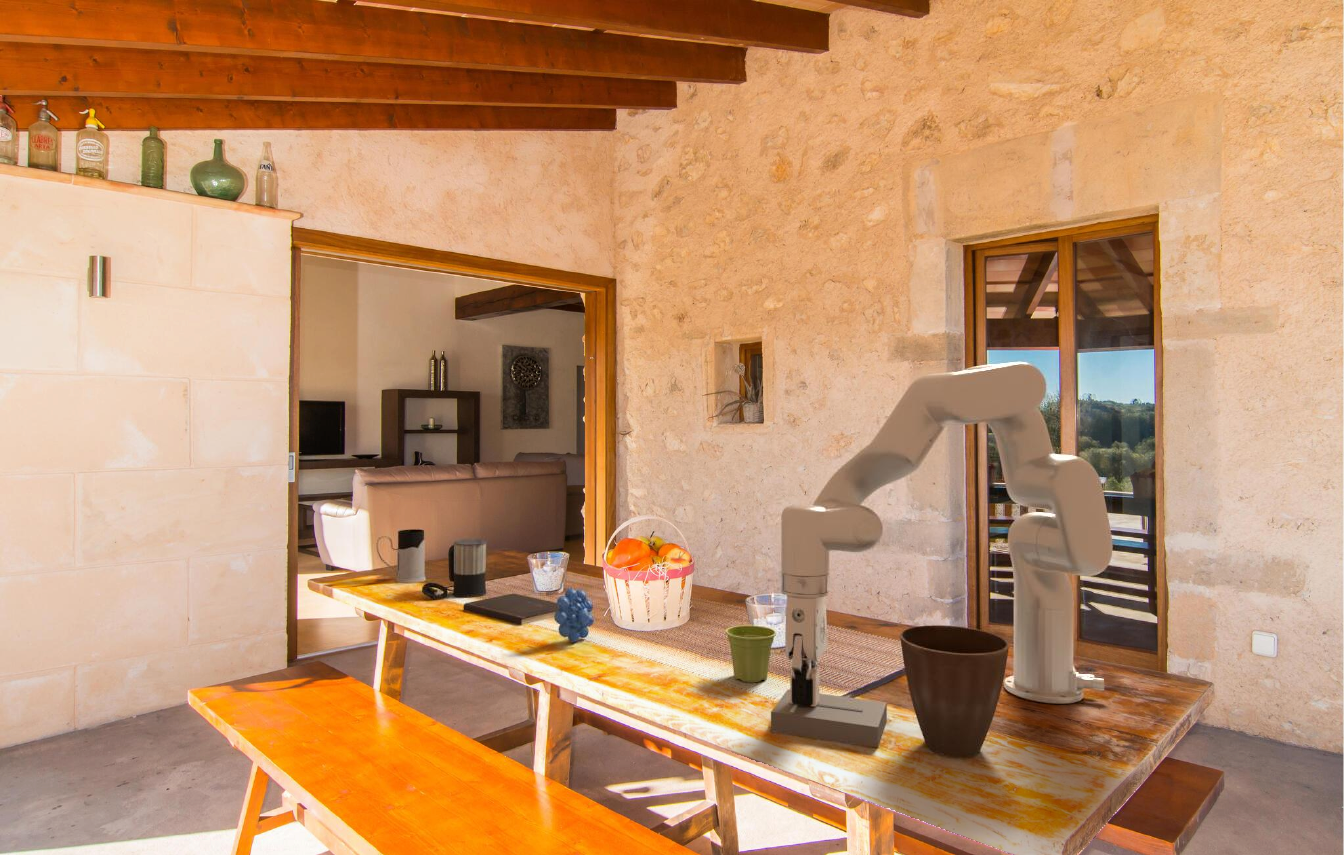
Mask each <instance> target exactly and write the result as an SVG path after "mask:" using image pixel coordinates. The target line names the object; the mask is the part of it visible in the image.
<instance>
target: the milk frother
mask: <svg viewBox="0 0 1344 855" xmlns="http://www.w3.org/2000/svg"><path fill="white" fill-rule="evenodd" d="M452 542H453V544H452V545H450V547H449V548H448V580H449V581H450V582H453V589H450V588H448V587H446V586H445V585H442V584H439V583H436V582H427V583H424V584H423V586H422V587H421V592H422V594H423V595H424V596H425V597H427V598H429V599H444V598H446V597H447V596H448V594H449V592H452V595H453V596H454V597H459V598H460V597H461V598H475V597H481V596H484V595H486V594H487V590H486V589H487V588H486V586H487V585H486V584H487V583H486V571H487V570H486V563H487V562H486V561H487V559H486V558H487V542H488V541H487V540H485V539H481V538H480V539H478V538H476V539H475V538H469V539H468V538H467V539H466V538H464V539H456V540H454V541H452ZM438 590H440V591H441V592H442V593H438Z"/></svg>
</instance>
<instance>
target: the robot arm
mask: <svg viewBox="0 0 1344 855" xmlns="http://www.w3.org/2000/svg"><path fill="white" fill-rule="evenodd" d="M1046 382H1047V381H1046V378H1045V376H1044V374H1043V372H1042V371H1041V370H1040V369H1039V368H1037V366H1035V365H1033V364H1031V363H1028V362H1025V361H1024V362H1023V361H1017V362H1016V361H1014V362H1006V363H1004V362H1003V363H996V364H995V363H994V364H983V365H976V366H972V367H967V368H965V369H963V370H961V371H956V372H955V371H952V372H943V373H933V374H927V375H923V376H921V377H918V378H916V380H914V381H913V382H912V383H911V384H910V385H909V386H908V388H907V389H906V390H905V392H904V393H903V395H902V397H901V398H900V399H899V401H898V402H897V404H896V405H895V407H894V408H893V410H892V412H891V413H890V414H889V416H888V418H887V419H886V420H885V422H884V424H883V425H882V426H881V427H880V429H879V431H878V432H877V434H876V435H875V437H873V440H871V442H870V443H869V444H868V445H866V446H864V447H863V448H862V449H860V450H859V451H858V452H857V453H856V454H855V455H854V456H852V457H851V459H849V460H848V461H847V462H845V464H843V465H842V466H841V467H840V468H838V469H837V471H835V473H833V475H832V476H831V477H830V478H829V480H828V481H827V482H826V484H824V487H822V490H821V491H820V493H819V494H818V496H817V497H816V499H815V500H814V502H813V504H794V505H789V506H786V507H784V508H783V510H782V512H781V515H780V516H781V519H780V520H781V521H780V522H781V524H780V525H781V526H780V527H781V528H780V529H781V531H780V535H781V537H780V540H781V542H780V544H781V545H780V546H781V547H780V550H781V551H780V557H781V558H780V561H781V562H780V567H781V569H780V571H781V572H780V593H781V594H782V595H784V596H786V604H785V605H786V608H785V610H786V611H785V632H784V633H785V634H784V635H785V646H784V647H785V657H786V658H787V659H788V660H790V661H792V662H791V670H792V703H793V704H800V705H807V706H811V705H812V704H813V679H811V668H817V669H818V661H819V660H820V659H821V658H822V657H823V655H824V653H825V652H826V650H827V648H828V628H827V627H828V625H827V623H828V622H827V606H826V605H827V603H826V597H828V596H829V595H830V552H831V551H835V552H836V551H837V552H839V551H840V552H847V553H864V552H867V551H869V550H871V549H873V548H875V546H876V545H877V544H878V543H879V542H880V541H881V539H882V536H883V531H884V528H883V522H882V520H881V518H880V517H879V515H878V514H877V513H876V512H875V511H874V510H873V509H871V508H869V507H867V506H866V505H862V504H863V503H864V502H865V501H866V500H867V498H869V496H871V495H872V494H873V493H875V492H876V491H877V490H879V489H880V488H883V487H884V486H887V485H889V484H891V483H895V482H896V481H898V480H901V479H903V478H906V477H908V476H909V475H912V474H913V473H915V472H916V471H917V470H918V469H919V467H920V466H921V465H922V463H923V462H924V460H925V458H926V457H927V455H928V454H929V452H930V450H931V449H932V448H933V446H934V444H935V443H936V442H937V440H938V438H939V437H940V436H941V434H942V433H943V432H944V430H945V428H946V427H947V426H948V425H949V426H951V425H952V426H953V425H955V426H956V425H957V426H958V425H961V426H962V425H964V426H965V425H975V424H981V423H986V424H987V425H988V427H989V428H990V430H991V431H992V434H993V435H994V436H993V437H994V438H995V442H996V446H997V450H998V454H999V455H998V456H999V461H1000V464H1001V470H1002V474H1003V479H1004V484H1005V487H1006V492H1007V495H1008V496H1009V498H1010V499H1011V501H1012V502H1014V503H1015V504H1017V505H1020V506H1022V507H1026V508H1032V509H1039V510H1046V511H1053V512H1054V513H1051V512H1050V513H1049V512H1039V511H1034V512H1029V513H1028V512H1027V513H1024V514H1022V515H1019V516H1018V517H1017V518H1015V520H1014V521H1013V522H1012V523H1011V525H1010V528H1009V530H1008V533H1007V544H1008V552H1009V557H1010V561H1011V566H1012V573H1013V675H1010V676H1007V677H1006V678H1004V680H1003V686H1004V688H1005V690H1006V691H1007V692H1009V693H1010V694H1012V695H1015V697H1019V698H1022V699H1025V700H1030V701H1034V702H1037V703H1039V702H1040V703H1046V704H1055V705H1056V704H1059V705H1060V704H1061V705H1062V704H1063V705H1065V704H1074V703H1077V702H1079V701H1081V700H1082V699H1083V698H1084V688H1085V689H1091V690H1097V691H1105V680H1104V678H1099V677H1095V675H1093V674H1083V673H1082V674H1081V673H1080V674H1079V672H1077V670H1076V668H1075V666H1074V665H1075V664H1074V607H1075V606H1074V605H1075V603H1074V600H1075V599H1074V598H1075V597H1074V591H1073V586H1072V583H1071V580H1070V578H1069V575H1068V574H1070V575H1075V576H1081V577H1092V576H1097V575H1099V574H1101V573H1102V572H1104V571H1105V570H1106V569H1107V568H1108V566H1109V564H1110V562H1111V560H1112V556H1113V549H1114V548H1113V538H1112V537H1113V536H1112V530H1111V524H1110V520H1109V514H1108V511H1107V510H1108V509H1107V505H1106V504H1107V503H1106V500H1105V494H1104V489H1103V486H1102V481H1101V478H1100V476H1099V474H1098V473H1097V470H1096V469H1095V468H1094V466H1093V465H1092V464H1091V463H1090V462H1089V461H1087V460H1086V459H1084V458H1082V457H1080V456H1075V455H1072V454H1070V455H1069V454H1057V453H1055V451H1054V447H1053V445H1052V441H1051V439H1050V438H1051V437H1050V434H1049V429H1048V426H1047V423H1046V420H1045V418H1044V416H1043V415H1042V412H1041V410H1039V408H1038V407H1040V405H1042V402H1044V399H1045V397H1046V393H1047V383H1046Z"/></svg>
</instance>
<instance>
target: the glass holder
mask: <svg viewBox="0 0 1344 855" xmlns="http://www.w3.org/2000/svg"><path fill="white" fill-rule="evenodd" d="M383 538H387V539H388V540H389V542H390V548H391V549H392V550H393V551H397V552H396V553H397V554H396V555H397V556H396V558H397V560H396V561H397V563H396V564H397V566H396V568H397V569H395V568H394V567H393V566H391V565H390V564H388V562H386V561H385V560H384V559H383V557H382V556H381V553H380V551H379V546H378V545H379V540H381V539H383ZM425 539H426V538H425V530H424V529H419V528H418V529H416V528H413V529H401V530H398V531H397V548H393V541H392V539H391V538H390V537H389V536H387V535H382V536H380V537H379V538H377V541H376V552H377V555H378V557H379V559H380V561H381V562H383V564H385V565H386V566H387V567H389V568H390V569H391V570H393V572H395V576H397V577H396V580H395V582H396V583H397V584H398V583H399V584H416V583H421V582H425V581H427V579H426V578H427V577H426V575H425V572H426V571H425V570H426V569H425V568H426V567H425V566H426V565H425V559H426V558H425V554H426V553H425V550H426V546H425V544H426V543H425V542H426V540H425Z"/></svg>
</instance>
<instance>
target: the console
mask: <svg viewBox="0 0 1344 855" xmlns="http://www.w3.org/2000/svg"><path fill="white" fill-rule="evenodd" d="M887 708H888V703H887V702H886V701H878V700H873V699H872V700H870V699H864V698H856V697H848V696H841V695H835V694H834V695H832V694H825V693H819V702H818V704H817V705H816V707H815V706H807V705H800V704H793V703H790V689H787V690H786V691H785V692H784V693H783V695H782V696H781V698H780V699H779V700H778V702H777V703H776V704H775V706H774V707H773V708H772V710H771V711H770V732H772V733H779V734H785V735H793V736H798V737H806V738H812V739H818V740H825V741H831V742H839V743H844V744H850V745H851V744H852V745H858V746H865V747H869V748H870V747H871V748H877V749H878V748H879V746H880V743H881V740H882V737H883V734H884V731H885V729H886V728H885V727H886V725H887V722H888V721H887V720H888V719H887V718H888V716H887V715H888V712H887V711H888V709H887Z"/></svg>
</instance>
